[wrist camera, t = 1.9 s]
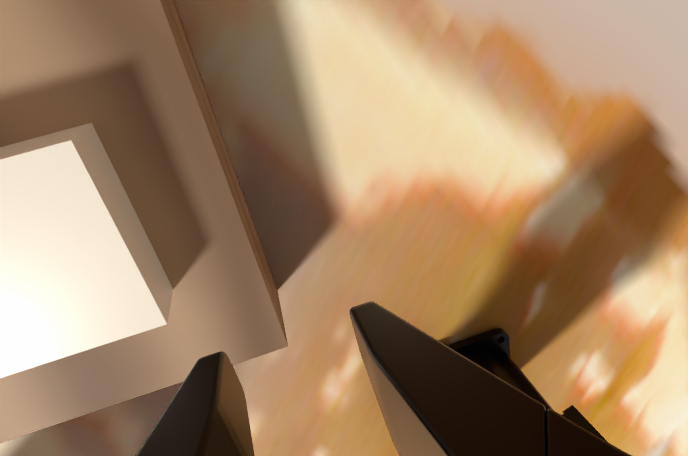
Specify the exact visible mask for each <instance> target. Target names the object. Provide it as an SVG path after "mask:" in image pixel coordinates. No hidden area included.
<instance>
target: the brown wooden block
mask: <svg viewBox="0 0 688 456" xmlns="http://www.w3.org/2000/svg"><path fill="white" fill-rule="evenodd" d="M88 123H92V124H93V126H94V128H95V131H96V133H97V135H98V137H99V139H100V141H101V143H102V145H103V147H104V149H105V151H106V153H107V155H108V157H109V159H110V161H111V163H112V165H113V167H114V169H115V171H116V173H117V175H118V177H119V179H120V181H121V184H122V186H123V188H124V190H125V192H126V194H127V196H128V198H129V200H130V202H131V204H132V206H133V208H134V210H135V212H136V214H137V216H138V218H139V220H140V222H141V224H142V226H143V228H144V230H145V232H146V235H147V237H148V239H149V241H150V243H151V245H152V247H153V249H154V251H155V253H156V255H157V257H158V259H159V261H160V263H161V265H162V267H163V269H164V271H165V273H166V275H167V277H168V279H169V281H170V283H171V285H172V288H173V295H172V300H171V306H170V311H169V317H168V323H167V325H163V326H160V327H157V328H154V329H151V330H148V331H145V332H142V333H139V334H136V335H132V336H129V337H126V338H123V339H120V340H117V341H114V342H111V343H108V344H105V345H101V346H98V347H95V348H92V349H89V350H86V351H83V352H80V353H77V354H74V355H70V356H67V357H64V358H61V359H58V360H55V361H52V362H49V363H46V364H43V365H39V366H36V367H33V368H30V369H27V370H24V371H21V372H18V373H15V374H12V375H8V376H5V377H2V378H0V443H3V442H6V441H9V440H12V439H15V438H18V437H21V436H24V435H27V434H29V433H32V432H35V431H38V430H41V429H44V428H47V427H50V426H53V425H56V424H59V423H62V422H65V421H68V420H71V419H74V418H77V417H80V416H83V415H86V414H89V413H92V412H95V411H98V410H101V409H104V408H107V407H109V406H112V405H115V404H118V403H121V402H124V401H127V400H130V399H133V398H136V397H139V396H142V395H145V394H148V393H151V392H154V391H157V390H160V389H163V388H166V387H169V386H172V385H175V384H178V383H181V382H184V380H185V379H186V377H187V375H188V374H189V372H190V371H191V369H192V368H193V366H194V365H195V363H196V362H197V361H198V359H200V358H202V357H205V356H208V355H211V354H214V353H217V352H220V351H223V352H225V353H226V354H227V356H228V357H229V359H230V362H231V364H232V365H234V364H237V363H240V362H243V361H246V360H249V359H252V358H255V357H258V356H261V355H264V354H267V353H269V352H272V351H275V350H278V349H281V348H284V347H287V346H288V344H287V338H286V333H285V328H284V323H283V317H282V312H281V307H280V302H279V297H278V291H277V289H276V286H275V283H274V280H273V277H272V275H271V272H270V269H269V266H268V263H267V261H266V258H265V255H264V252H263V249H262V247H261V244H260V241H259V238H258V235H257V233H256V230H255V227H254V224H253V221H252V219H251V216H250V213H249V210H248V207H247V205H246V202H245V199H244V196H243V193H242V191H241V188H240V185H239V182H238V179H237V177H236V174H235V171H234V168H233V165H232V163H231V160H230V157H229V154H228V151H227V149H226V146H225V143H224V140H223V137H222V135H221V132H220V129H219V126H218V123H217V121H216V118H215V115H214V112H213V109H212V107H211V104H210V101H209V98H208V95H207V93H206V90H205V87H204V84H203V81H202V79H201V76H200V73H199V70H198V67H197V65H196V62H195V59H194V56H193V54H192V51H191V48H190V45H189V42H188V40H187V37H186V34H185V31H184V28H183V26H182V23H181V20H180V17H179V14H178V12H177V9H176V6H175V3H174V0H0V147H3V146H7V145H11V144H14V143H18V142H22V141H25V140H29V139H33V138H36V137H40V136H44V135H48V134H51V133H55V132H59V131H62V130H66V129H70V128H73V127H77V126H81V125H85V124H88Z"/></svg>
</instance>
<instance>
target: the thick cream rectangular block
mask: <svg viewBox="0 0 688 456" xmlns="http://www.w3.org/2000/svg"><path fill="white" fill-rule="evenodd" d="M172 295H173V288H172V285H171V283H170V281H169V279H168V277H167V275H166V273H165V271H164V269H163V267H162V265H161V263H160V261H159V259H158V257H157V255H156V253H155V251H154V249H153V247H152V245H151V243H150V241H149V239H148V237H147V235H146V232H145V230H144V228H143V226H142V224H141V222H140V220H139V218H138V216H137V214H136V212H135V210H134V208H133V206H132V204H131V202H130V200H129V198H128V196H127V194H126V192H125V190H124V188H123V186H122V184H121V181H120V179H119V177H118V175H117V173H116V171H115V169H114V167H113V165H112V163H111V161H110V159H109V157H108V155H107V153H106V151H105V149H104V147H103V145H102V143H101V141H100V139H99V137H98V135H97V133H96V131H95V128H94V126H93V124H92V123H88V124H85V125H81V126H77V127H73V128H70V129H66V130H62V131H59V132H55V133H51V134H48V135H44V136H40V137H36V138H33V139H29V140H25V141H22V142H18V143H14V144H11V145H7V146H3V147H0V378H2V377H5V376H8V375H12V374H15V373H18V372H21V371H24V370H27V369H30V368H33V367H36V366H39V365H43V364H46V363H49V362H52V361H55V360H58V359H61V358H64V357H67V356H70V355H74V354H77V353H80V352H83V351H86V350H89V349H92V348H95V347H98V346H101V345H105V344H108V343H111V342H114V341H117V340H120V339H123V338H126V337H129V336H132V335H136V334H139V333H142V332H145V331H148V330H151V329H154V328H157V327H160V326H163V325H167V323H168V317H169V311H170V306H171V300H172Z"/></svg>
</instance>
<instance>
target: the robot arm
mask: <svg viewBox="0 0 688 456" xmlns="http://www.w3.org/2000/svg"><path fill="white" fill-rule="evenodd" d="M350 317H351V320H352V324H353V328H354V332H355V335H356V339H357V343H358V346H359V350H360V353H361V356H362V359H363V362H364V364H365V367H366V370H367V373H368V375H369V378H370V381H371V384H372V387H373V389H374V392H375V395H376V398H377V400H378V403H379V406H380V409H381V412H382V414H383V417H384V420H385V423H386V425H387V428H388V431H389V433H390V436H391V438H392V441H393V443H394V445H395V447H396V449H397V452H398V454H399V456H631V455H629V454H628V453H626V452H624V451H622V450H620V449H618V448H617V447H615V446H613V445H611V444H610V443H608V442H607V441H606V440H605V439H604V438H603V437H602V435H601V434H600V433H599V432H598V431H597V430H596V429H595V428H594V427H593V426H592V425H591V424H590V423H589V422H588V421H587V420H586V419H585V418H584V417H583V416H582V415H581V413H580V412H579V411H578V410H577V409H576V408H575V407H574V406H573V405H572V406H570V407H569V408H567V409H566V410H564V411H563V413H564V414H562V415H560V414H558V413H557V412H555V411H554V410H553V409H552V408H551V407H550V405H549V404H548V403H547V402H546V400H545V399H544V398H543V397H542V396H541V394H540V393H539V392H538V391H537V390H536V388H535V387H534V386H533V385H532V383H531V382H530V381H529V380H528V379H527V377H526V376H525V375H524V374H523V372H522V371H521V370H520V369H519V368H518V366H517V365H516V364H515V363H514V362H513V360H512V359H511V358H510V349H509V336H508V334H507V333H506V332H505V331H504V330H503V329H501V328H498V329H495V330H492V331H489V332H486V333H483V334H480V335H477V336H475V337H472V338H469V339H466V340H463V341H460V342H458V343H455V344H452V345H449V346H446V345H444V344H443V343H441V342H439V341H438V340H436V339H434V338H433V337H431V336H429V335H428V334H426V333H425V332H423V331H421V330H420V329H418V328H416V327H415V326H413V325H411V324H410V323H408V322H406V321H405V320H403V319H401V318H400V317H398V316H397V315H395V314H393V313H392V312H390V311H388V310H387V309H385V308H383V307H382V306H380V305H378V304H377V303H375V302H372V301H371V302H367V303H364V304H361V305H358V306H355V307H352V308H351V309H350ZM136 456H254V450H253V444H252V437H251V431H250V424H249V418H248V412H247V405H246V399H245V395H244V391H243V388H242V386H241V383H240V381H239V379H238V377H237V375H236V372H235V370H234V368H233V366H232V364H231V362H230V359H229V357H228V356H227V354H226V353H225V352H223V351H220V352H217V353H214V354H211V355H208V356H205V357H202V358H200V359H198V361H197V362H196V363H195V365H194V366H193V368H192V369H191V371H190V372H189V374H188V375H187V377H186V379H185V380H184V382H183V383H182V385H181V386H180V388H179V389H178V391H177V393H176V394H175V396H174V397H173V399H172V400H171V402H170V403H169V405H168V407H167V408H166V410H165V411H164V413H163V414H162V416H161V417H160V419H159V420H158V422H157V424H156V425H155V427H154V428H153V430H152V431H151V433H150V434H149V436H148V438H147V439H146V441H145V442H144V444H143V445H142V447H141V448H140V450H139V452H138V453H137V455H136Z"/></svg>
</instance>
